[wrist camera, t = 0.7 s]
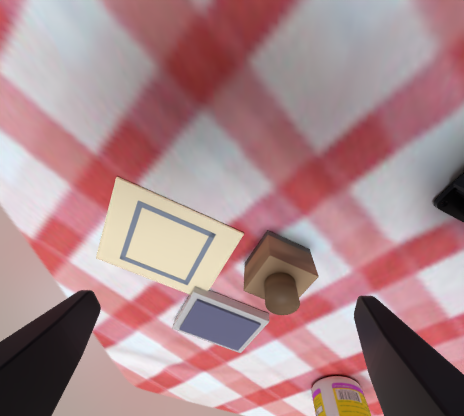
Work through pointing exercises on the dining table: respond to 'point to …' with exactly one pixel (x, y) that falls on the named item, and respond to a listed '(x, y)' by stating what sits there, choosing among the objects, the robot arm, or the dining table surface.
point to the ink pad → (220, 320)
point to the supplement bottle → (339, 397)
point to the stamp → (279, 273)
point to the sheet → (164, 239)
